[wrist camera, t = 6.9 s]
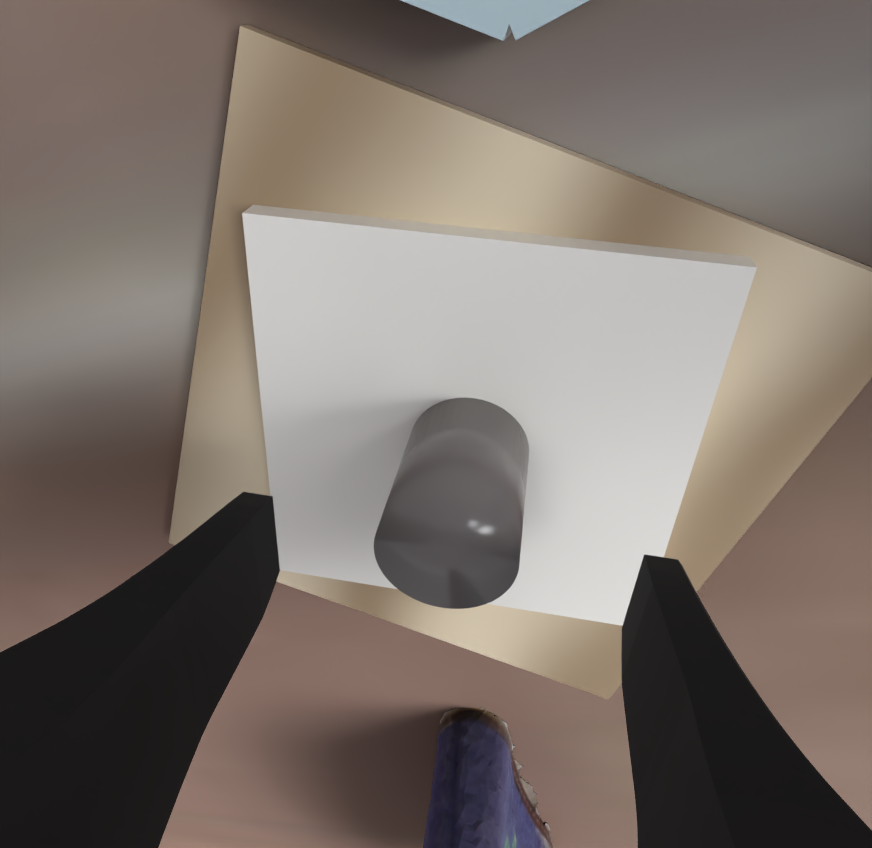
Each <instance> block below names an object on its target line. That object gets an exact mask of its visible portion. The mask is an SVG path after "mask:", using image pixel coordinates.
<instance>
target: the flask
mask: <svg viewBox="0 0 872 848" xmlns="http://www.w3.org/2000/svg"><path fill="white" fill-rule="evenodd" d="M439 723H440V728H439V733H438V737H437V754H436V761H435V768H434V775H433V783H432V793H431V801H430V805H429V810H428V816H427V823H426V830H425V839H424V845H423V848H553V847H552V843H551V835H550V827H549V826H548V824H547V823H545V826H544V825H543V822H542V820H541V819H540V815H539V812H538V811H537V805H536V804H538V802H537V800H536V798H535V795H536V793H534V792H533V790H532V786H530V785H529V783H525V780H523V779H522V778H520V775H519V772H518V770H519V769H520V768H521V767H523V766H522V765H520V764H519V763H518V762H517V761H516V760H514V758H513V755H512V752H513V747H515V746H513V744H512V742H511V736H510V734H509V731H508V729H507V723H506V722H504V721H502V720H501V719H500V718H499V717H497V716H495V717H494V714H492V713H490V712H488V711H486V710H485V709H484V708H483V707H481V708H454V709H453V710H451V711H448V712H445V713H444V715H443V717H442V718H441V720H440V722H439Z"/></svg>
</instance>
